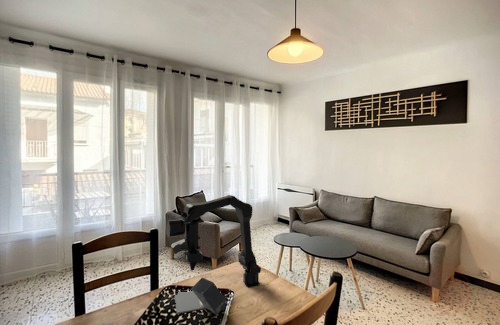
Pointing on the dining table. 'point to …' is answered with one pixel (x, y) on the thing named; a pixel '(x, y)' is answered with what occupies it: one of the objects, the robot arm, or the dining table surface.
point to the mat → (187, 302)
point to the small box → (209, 295)
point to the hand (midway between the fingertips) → (192, 270)
